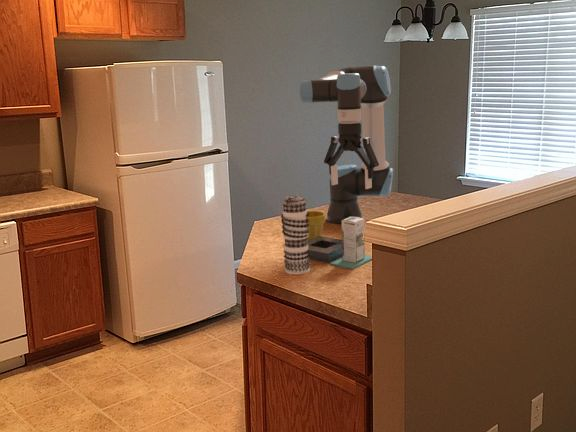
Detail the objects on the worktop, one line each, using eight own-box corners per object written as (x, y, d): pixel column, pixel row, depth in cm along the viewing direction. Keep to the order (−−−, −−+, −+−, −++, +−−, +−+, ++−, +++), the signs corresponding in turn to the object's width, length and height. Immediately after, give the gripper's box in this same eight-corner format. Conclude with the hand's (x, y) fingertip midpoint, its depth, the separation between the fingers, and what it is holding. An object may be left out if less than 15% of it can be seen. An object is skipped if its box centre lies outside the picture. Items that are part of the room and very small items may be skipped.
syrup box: (350, 256, 220) (349, 215, 217) (365, 258, 217) (364, 217, 213) (341, 260, 216) (340, 219, 213) (356, 263, 212) (355, 221, 209)
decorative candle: (293, 264, 217) (290, 192, 211) (316, 268, 212) (313, 194, 206) (278, 272, 210) (274, 198, 204) (301, 276, 204) (298, 200, 198)
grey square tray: (319, 244, 238) (319, 235, 237) (355, 251, 228) (354, 242, 227) (292, 255, 226) (292, 246, 225) (328, 263, 216) (328, 253, 215)
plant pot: (321, 242, 241) (320, 217, 239) (295, 241, 244) (294, 216, 242) (329, 235, 250) (328, 211, 248) (304, 233, 254) (303, 210, 251)
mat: (353, 254, 225) (353, 252, 224) (375, 258, 219) (375, 256, 219) (330, 264, 214) (330, 263, 214) (352, 269, 209) (352, 267, 208)
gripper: (312, 122, 210) (314, 185, 216) (376, 124, 195) (377, 192, 200) (325, 119, 216) (327, 181, 221) (389, 121, 200) (389, 187, 205)
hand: (351, 186), depth 210 cm, fingers open, 13 cm apart
